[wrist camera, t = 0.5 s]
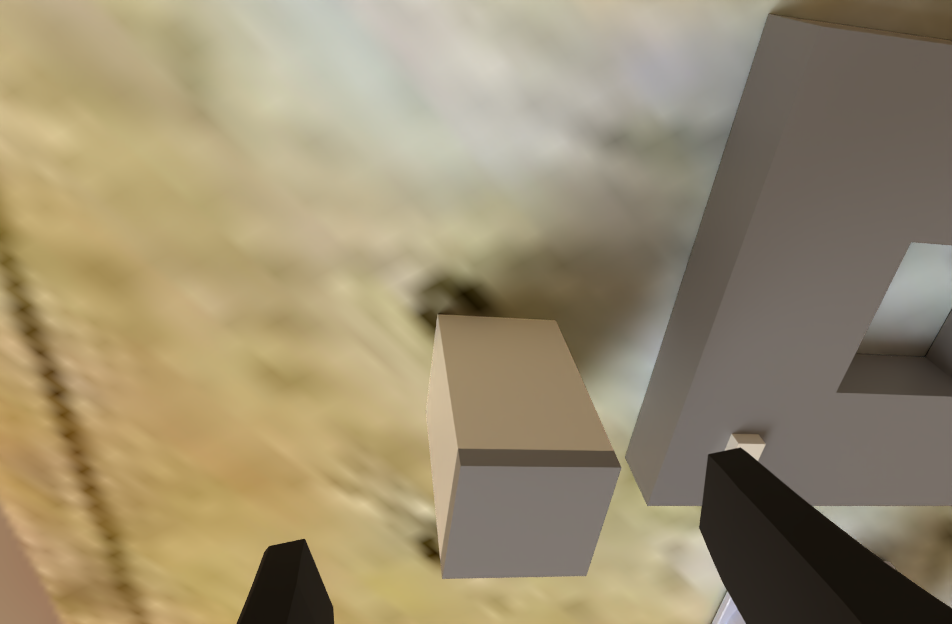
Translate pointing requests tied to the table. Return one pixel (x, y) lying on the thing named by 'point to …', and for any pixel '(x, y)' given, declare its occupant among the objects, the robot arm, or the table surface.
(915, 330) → the table surface
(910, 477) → the socket block
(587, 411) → the plug
